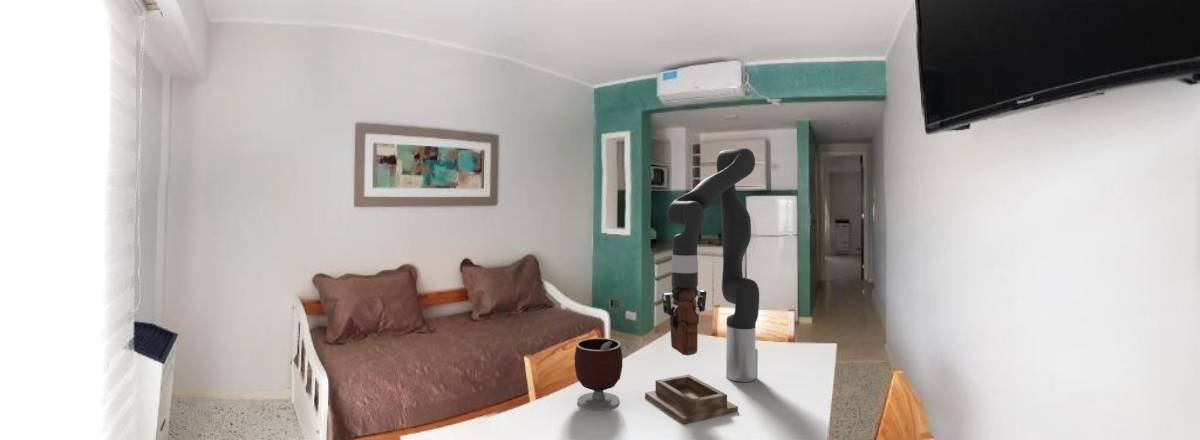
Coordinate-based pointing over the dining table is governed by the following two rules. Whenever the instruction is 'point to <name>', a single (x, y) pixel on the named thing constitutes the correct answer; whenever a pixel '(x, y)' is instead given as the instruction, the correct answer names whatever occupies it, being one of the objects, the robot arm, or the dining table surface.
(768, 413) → the dining table surface
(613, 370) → the mate gourd
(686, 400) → the cradle
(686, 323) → the wooden figurine
